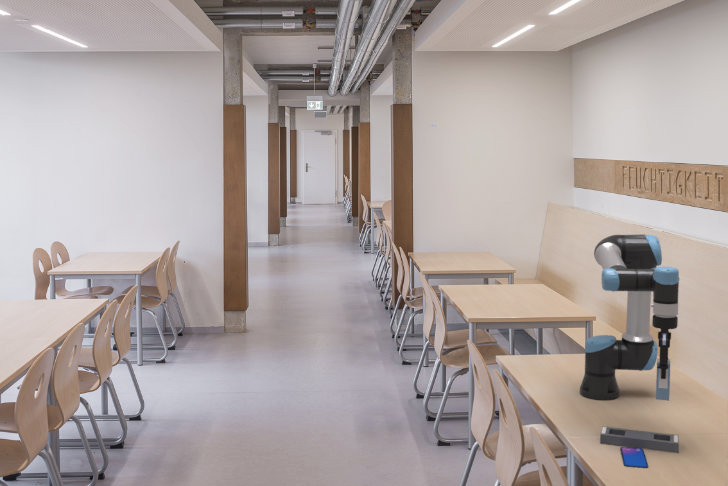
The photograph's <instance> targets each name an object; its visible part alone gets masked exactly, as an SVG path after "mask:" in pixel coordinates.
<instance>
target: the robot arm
mask: <svg viewBox="0 0 728 486" xmlns="http://www.w3.org/2000/svg"><path fill="white" fill-rule="evenodd" d="M661 248H662V247H661V244H660V240H659V238H658V237H657V235H653V234H652V235H651V234H645V233H644V234H614V235H609V236H607V237H605V238H603V239H601V240H600V241H599V242H598V243H597V244H596V246H595V247H594V251H593V256H594V259H595V262H597V263H596V264H598V265H599V266H601V268H602V272H601V288H602V290H604V291H608V292H609V291H610V292H627V299H626V301H627V302H626V322H625V323H626V325H625V332H624V333H622V334H621V339H617V338H616V336H615V335H611V334H610V335H609V334H601V335H600V334H599V335H594V336H591V337H588V338H587V339H586V341H585V345H584V375H583V378H582V381H581V383H580V386H579V394H580V395H581V396H582V395H583V396H582V397H584V396H585V398H587V397H588V398H587V399H592V400H601V401H606V400H607V401H609V400H615V399H618V398H619V397H620V388H619V385H618V381H617V378H616V370H617V371H618V370H620V371H621V370H623V371H625V370H626V371H640V372H642V371H651V370H653V369H654V367H655V366H656V369H657V368H658V369H659V386H658V388H665V389H667V388H668V359H669V349H670V347H671V340H672V332H671V331H669V330H675V329H677V328H678V322H679V321H678V315H679V286H680V275H679V273H680V272H679V271H680V270H679V269H678V268H676V267H672V266H661V265H662V260H663V256H662V255H663V254H662V249H661ZM652 294H653V295H652ZM652 298H653V299H652ZM652 301H653V303H651V302H652ZM651 308H652V314H653V315H652V321H651ZM651 322H652V327H654V328H656V329H660V331H657V339H658V343H657V341H655V340H654V337H653V335H652V334H651V333H650V328H651V327H650V325H651V324H650V323H651ZM658 347H659V359H660V365H659V367H658V366H657V365H656V364H657V358H658Z"/></svg>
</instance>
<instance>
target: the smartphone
mask: <svg viewBox="0 0 728 486" xmlns="http://www.w3.org/2000/svg"><path fill="white" fill-rule="evenodd" d="M619 450H620V455H621V458H622V459H621V460H622V462H623V463H622V464H623V466H624V467H627V468H638V469H639V468H641V469H649V464H648V461H647V457H646V453H645V449H643V448H635V447H627V446H620V448H619Z"/></svg>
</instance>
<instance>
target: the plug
mask: <svg viewBox="0 0 728 486" xmlns="http://www.w3.org/2000/svg"><path fill="white" fill-rule="evenodd" d="M659 365H660V357H659V358H658V357H657V359H656V379H655V382H656V383H655V384H656V387H655V390H656V391H655V400H659V401H670V390H671V386H670V385H671V359H669V358H668V388H667V389H665V388H658V386H659V369H658V368H657V366H658V367H659Z"/></svg>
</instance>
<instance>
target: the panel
mask: <svg viewBox="0 0 728 486" xmlns="http://www.w3.org/2000/svg"><path fill="white" fill-rule="evenodd" d="M599 439H600V440H599V444H603V445H611V446H612V445H613V446H620V447H633V448H642V449H643V450H652V451H661V452H668V453H677V454H679V446H680V445H679V434H671V433H663V432H655V431H645V430H638V429H637V430H636V429H630V428H629V429H627V428H621V427H620V428H619V427H609V426H602V427H601V431H600V438H599Z"/></svg>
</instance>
